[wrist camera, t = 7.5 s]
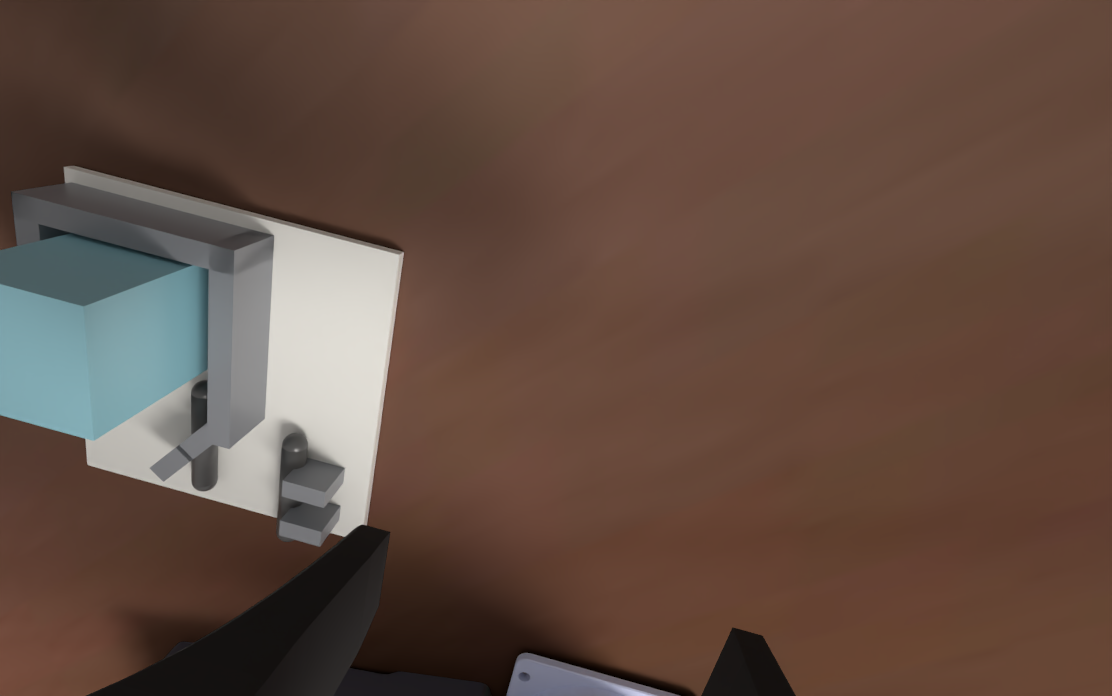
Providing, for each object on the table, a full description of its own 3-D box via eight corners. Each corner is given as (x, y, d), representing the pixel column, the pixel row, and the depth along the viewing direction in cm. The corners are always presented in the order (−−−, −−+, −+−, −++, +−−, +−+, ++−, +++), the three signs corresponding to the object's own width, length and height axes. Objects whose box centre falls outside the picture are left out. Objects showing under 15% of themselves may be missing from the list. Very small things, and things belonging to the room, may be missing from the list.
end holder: (270, 414, 24) (229, 449, 22) (94, 365, 24) (34, 395, 22) (280, 233, 21) (234, 250, 19) (81, 180, 22) (10, 191, 19)
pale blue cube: (227, 371, 23) (95, 459, 18) (123, 343, 23) (-40, 421, 18) (229, 251, 21) (83, 306, 16) (117, 222, 21) (-66, 266, 16)
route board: (364, 543, 26) (342, 578, 24) (95, 468, 26) (54, 496, 24) (404, 252, 21) (380, 267, 19) (73, 165, 21) (19, 172, 20)
